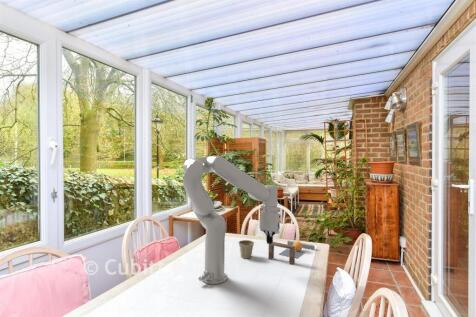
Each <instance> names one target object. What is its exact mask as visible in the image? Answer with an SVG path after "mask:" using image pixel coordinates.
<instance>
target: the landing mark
mask: <svg viewBox="0 0 476 317" xmlns="http://www.w3.org/2000/svg"><path fill="white" fill-rule="evenodd" d="M303 253H304V254H305V252H304V251H301V250H300V251H295V259H299V258H300V257H301V256H303V255H304V254H303ZM278 255H280V256H285V257H289V249H287V248H285V249H284V250H283V251H281V252H279V253H278Z"/></svg>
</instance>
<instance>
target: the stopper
mask: <svg viewBox="0 0 476 317" xmlns="http://www.w3.org/2000/svg"><path fill="white" fill-rule="evenodd" d="M294 242H295V241H294V240H293V241H292V240H287V243H286V244H287V245H292V246H293V244H294ZM301 244H302V246H303V247H302V249H305V250H310V249H311V251H315V248H316V247H315V246H316V245H313V244H307V243H303V242H301Z"/></svg>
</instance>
